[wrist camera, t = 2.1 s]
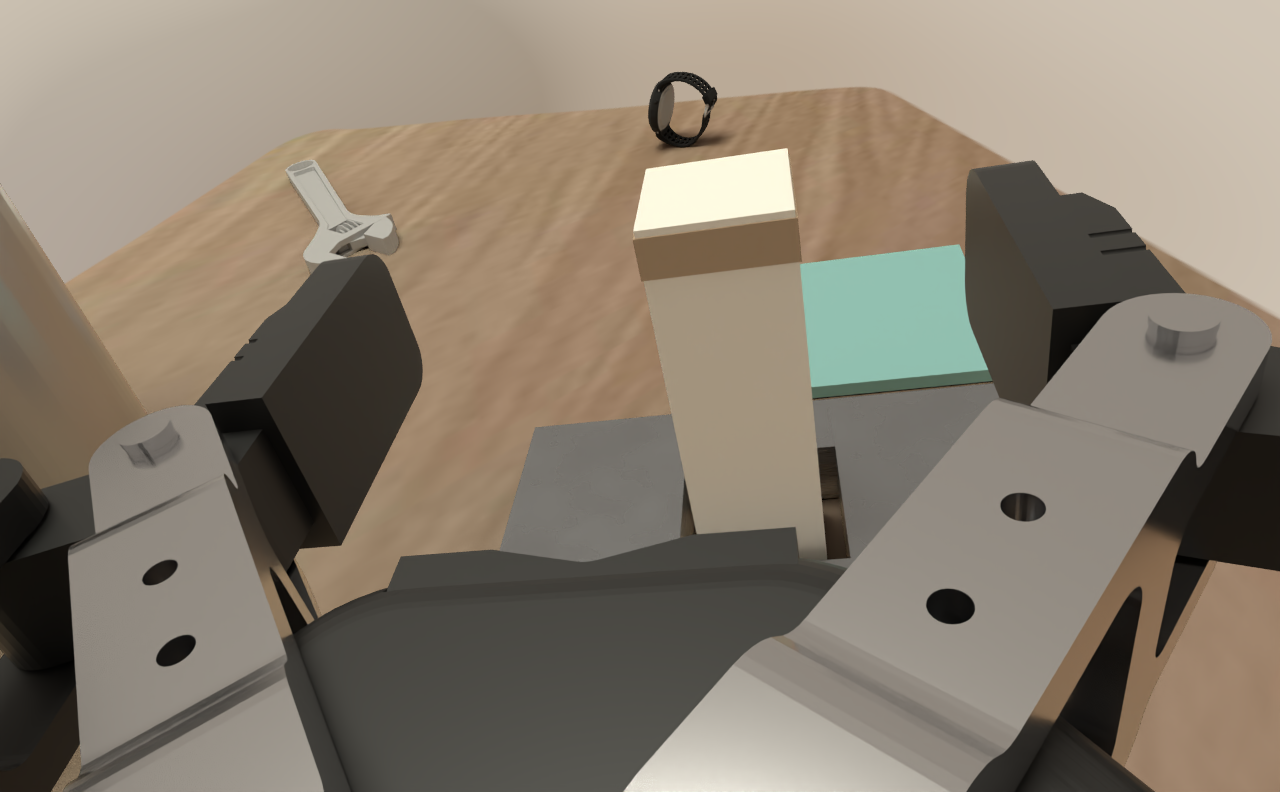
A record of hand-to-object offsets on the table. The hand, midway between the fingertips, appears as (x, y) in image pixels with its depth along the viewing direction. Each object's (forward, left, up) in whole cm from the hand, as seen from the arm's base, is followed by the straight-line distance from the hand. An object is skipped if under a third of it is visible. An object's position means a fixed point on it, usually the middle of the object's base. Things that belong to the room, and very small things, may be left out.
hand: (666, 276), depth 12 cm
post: (-9, +7, -18) cm, 21 cm away
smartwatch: (-44, +30, -18) cm, 56 cm away
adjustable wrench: (-58, +8, -18) cm, 62 cm away
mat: (-17, +20, -18) cm, 32 cm away
